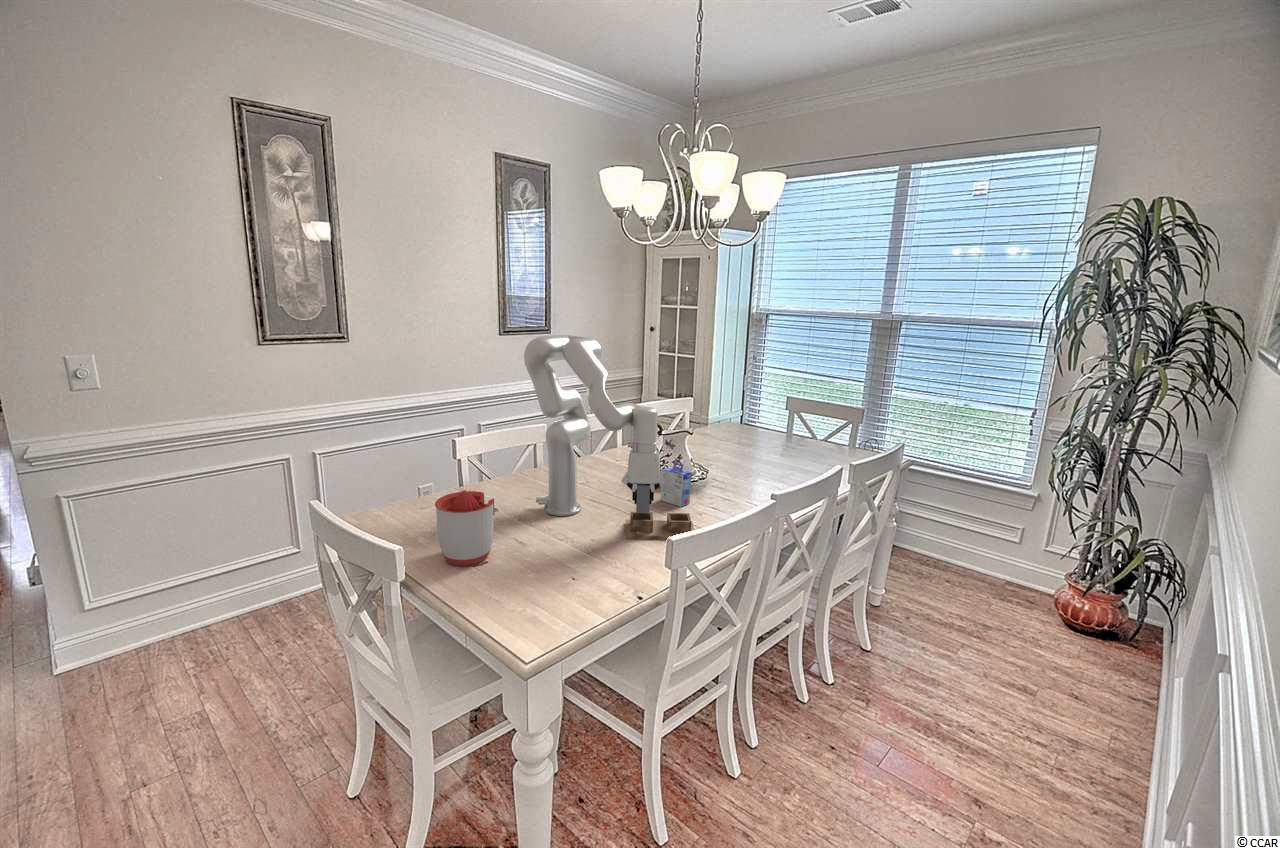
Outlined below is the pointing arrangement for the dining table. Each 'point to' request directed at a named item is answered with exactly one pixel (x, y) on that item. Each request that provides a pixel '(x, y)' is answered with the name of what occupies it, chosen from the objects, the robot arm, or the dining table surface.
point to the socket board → (657, 526)
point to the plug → (643, 498)
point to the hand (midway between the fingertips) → (642, 502)
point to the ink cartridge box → (676, 485)
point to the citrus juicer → (465, 527)
